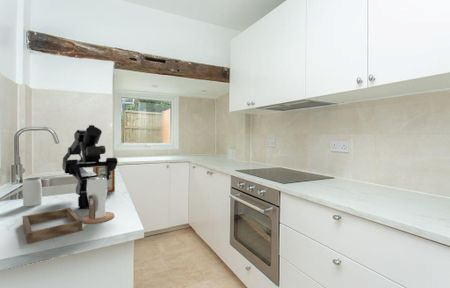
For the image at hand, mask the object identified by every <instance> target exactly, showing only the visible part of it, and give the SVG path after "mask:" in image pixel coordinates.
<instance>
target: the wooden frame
mask: <svg viewBox="0 0 450 288" xmlns="http://www.w3.org/2000/svg"><path fill="white" fill-rule="evenodd" d="M65 217H67V219H68V220H69V221H70V222H68V223H63V224H59V225H55V226H49V227H45V228H40V229H35V230H33V229H32V226H31V224H35V223H40V222H45V221H51V220H55V219H60V218H65ZM22 227H23V231H24V235H25V239H26V244H28V245H29V244H31V243H32V244H33V243H36V242H40V241H44V240H49V239H52V238H56V237H60V236H64V235H67V234H71V233H75V232H80V231H83V222H82V218H80V217H79V216H78V215H77V214H76V212H74V211H73V210H72V208H70V207H64V208H59V209H54V210H48V211H43V212H37V213H33V214H26V215H22Z"/></svg>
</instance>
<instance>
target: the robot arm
mask: <svg viewBox="0 0 450 288" xmlns="http://www.w3.org/2000/svg"><path fill="white" fill-rule="evenodd" d="M102 132H103V131H102V130H101V129H100V128H99V127H96V126H95V125H94V124H90V125H89V124H88V126H87V128H86V129H77V130H76V131H75V132H74V141H73V142H72V143H71V145H70V147H67V153H66V154H65V155H64V156H63V158H62V170H63V171H64V174H69V175H70V176H72V177H74V178H76V180H77V181H78V182H77V183H76V187H75V193H76V195H78V197H77V206H78V209H79V210H82V209H89V202H88V198H87V179H88V178H91V177H98V175H96V173H93V172H87V170H86V168H89V169H90V168H91V169H92V168H93V167H104V166H105V169H106V170H105V173H106V177H107V181H108V180H109V175H110V171H113V170H114V169H115V170H116V168H117V165H118V158H117V157H106V159H105V161H100V160H101V158H102V157H101V155H105V154H106V147H105V145H97V144H98V143H99V141H100V138H101V135H102ZM72 155H74V156H76V155H78V156H79V157H80V159H69V158H71V156H72Z"/></svg>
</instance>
